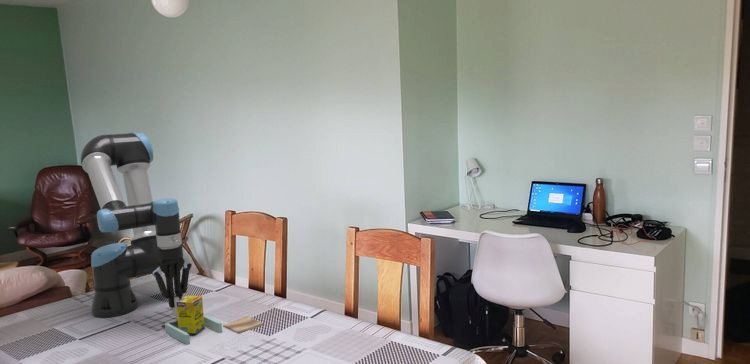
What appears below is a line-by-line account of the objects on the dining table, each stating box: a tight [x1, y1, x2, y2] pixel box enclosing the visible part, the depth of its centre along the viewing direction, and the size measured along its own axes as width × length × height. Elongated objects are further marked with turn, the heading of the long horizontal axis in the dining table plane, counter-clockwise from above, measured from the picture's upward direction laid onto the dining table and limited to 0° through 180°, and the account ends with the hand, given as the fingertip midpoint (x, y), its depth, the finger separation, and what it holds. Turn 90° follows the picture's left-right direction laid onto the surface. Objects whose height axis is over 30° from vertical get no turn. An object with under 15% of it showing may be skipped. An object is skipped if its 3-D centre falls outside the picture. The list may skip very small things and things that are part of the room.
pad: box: [222, 316, 264, 335], centre depth 179 cm, size 9×9×1 cm
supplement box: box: [176, 295, 206, 336], centre depth 176 cm, size 6×6×11 cm
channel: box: [164, 314, 223, 346], centre depth 176 cm, size 14×12×3 cm
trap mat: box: [160, 320, 179, 329], centre depth 182 cm, size 8×9×1 cm
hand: (176, 315), depth 183 cm, fingers closed
